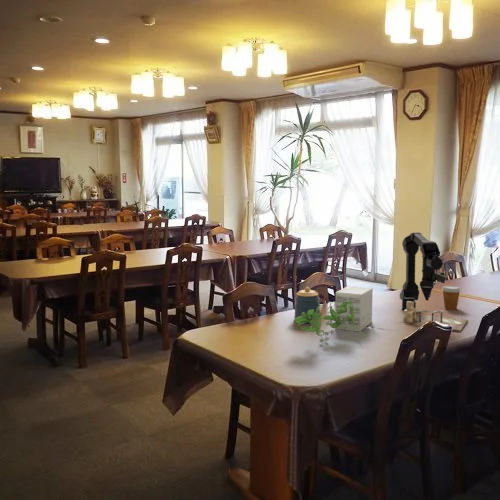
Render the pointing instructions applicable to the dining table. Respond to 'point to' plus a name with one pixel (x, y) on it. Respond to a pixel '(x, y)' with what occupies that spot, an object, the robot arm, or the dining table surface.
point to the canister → (306, 302)
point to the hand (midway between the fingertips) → (428, 298)
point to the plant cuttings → (334, 316)
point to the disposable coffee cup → (451, 297)
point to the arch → (409, 312)
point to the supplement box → (355, 307)
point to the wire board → (422, 319)
